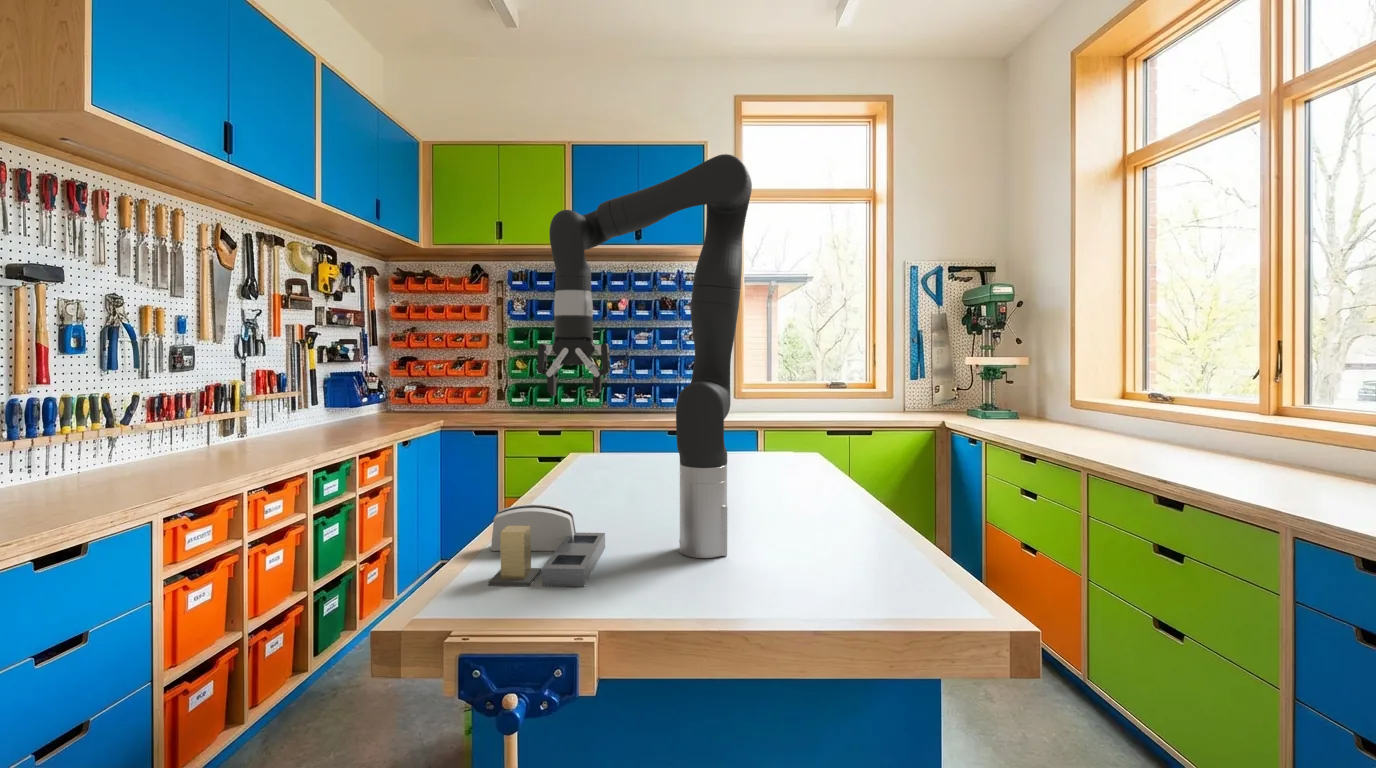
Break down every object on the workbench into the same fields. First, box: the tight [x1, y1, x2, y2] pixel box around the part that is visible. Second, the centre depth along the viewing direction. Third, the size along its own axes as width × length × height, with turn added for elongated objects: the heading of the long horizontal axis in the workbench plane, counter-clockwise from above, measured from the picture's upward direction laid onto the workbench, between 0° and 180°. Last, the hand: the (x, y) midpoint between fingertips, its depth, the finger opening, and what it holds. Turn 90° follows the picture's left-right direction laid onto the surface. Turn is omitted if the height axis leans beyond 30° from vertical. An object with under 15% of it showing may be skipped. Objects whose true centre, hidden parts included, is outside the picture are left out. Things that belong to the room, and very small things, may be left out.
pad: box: [488, 567, 542, 587], centre depth 109 cm, size 7×7×1 cm
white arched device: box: [490, 503, 577, 552], centre depth 126 cm, size 17×5×10 cm, turn 92°
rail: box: [541, 532, 606, 588], centre depth 116 cm, size 7×21×3 cm, turn 178°
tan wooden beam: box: [500, 526, 532, 579], centre depth 109 cm, size 4×4×8 cm
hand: (574, 395), depth 127 cm, fingers open, 8 cm apart
